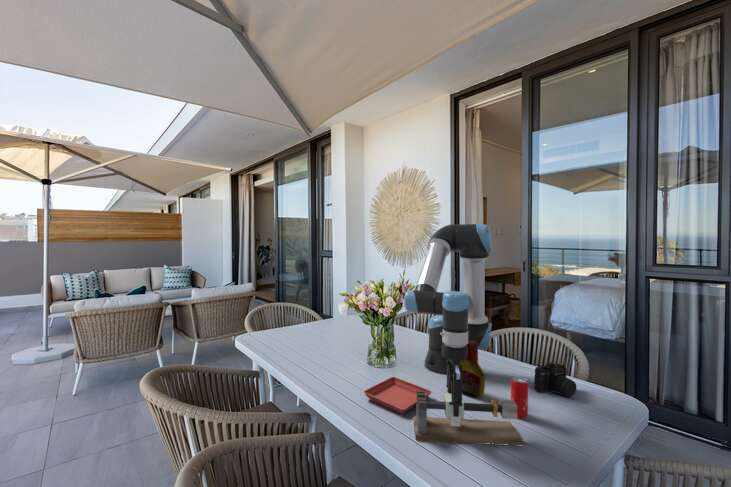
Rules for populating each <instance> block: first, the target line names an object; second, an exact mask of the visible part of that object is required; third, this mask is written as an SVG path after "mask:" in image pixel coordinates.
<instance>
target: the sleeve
mask: <svg viewBox="0 0 731 487" xmlns="http://www.w3.org/2000/svg"><path fill="white" fill-rule="evenodd" d="M443 394H444V395H443V402H446V410H443V411H444V414H445V418H450V412H451V405H449V402H452V398H451V394H449V393H443ZM464 403H465V402H464V400H463V398H462V406H460V419H465V413H464V412H465V411H464Z"/></svg>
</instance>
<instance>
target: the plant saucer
mask: <svg viewBox="0 0 731 487" xmlns="http://www.w3.org/2000/svg"><path fill="white" fill-rule="evenodd" d="M417 390H424V391H425V398H426V399H427V398H428V397H429V396H430V395H431V394H432V391H431V390H430V389H427V388H424V387H422V386H419V385H416V384H414V383H411V382H409V381H406V380H403V379H400V378H399V377H395V376H391V377H389V378H388V379H386V380H384V381H382V382H379V383H377V384H375V385H374V386H373V385H372V386H371V387H369V388H367V389H365V390H364V391H363V393H364V395H365V396H366V397H367V398H368V399H369V400H370V401H372V402H375V403H377V404H379V405H381V406H383V407H385V408H387V409H390V410H392V411H394V412H396V413H397V414H405V413H406V412H407V411H409V410H411V409H412V408H414V407H416V406H417Z"/></svg>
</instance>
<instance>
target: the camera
mask: <svg viewBox="0 0 731 487" xmlns="http://www.w3.org/2000/svg"><path fill="white" fill-rule="evenodd" d="M534 368H535V369H534V384H533V385H534V389H535V390H536V391H535V390H534V391H535V392H537V393H539V394H540V393H545V392H552V393H556V392H557V393H559V394H561V395H563V396H565V397H569V398H570V397H572V396H574V395H575V393H576V391H577V384H576V382H575V381H574V380H572V379H570V378H568V377H567V367H566V366H565V364H564V363H562V362H558V363H554V362H552V361H550V362H546V363H545V365H543V364H541V365H540V366H537V367H534Z"/></svg>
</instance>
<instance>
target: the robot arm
mask: <svg viewBox="0 0 731 487" xmlns="http://www.w3.org/2000/svg"><path fill="white" fill-rule="evenodd" d="M492 238H493V237H492V232H491V227H489V225H488V224H482V223H481V224H480V223H467V224H466V223H461V224H457V223H454V224H446V225H445V226H443V227H441V228H439V229H438V230H436V231H435V232H434V233H433V234H432V235H431V237H430V238H429V240H428V243H427V245H426V249H427V252H426V255H425V258H424V262H423V264H422V267H421V271H420V272H419V276H418V278H417V281H416V285H415V287H414V289H408V290H406V292H405V294H404V297H403V298H404V300H403V302H404V303H403V304H404V308H405V310H406V311H407V312H409V313H410V312H411V313H415V314H429V315H433V316H432V317H430V318H429V323H428V350H427V352H426V356H425V359H424V368H425V369H426V370H429V371H430V372H433V373H438V374H446V389H447V394H451V398H452V402H449V405H451V412H450V425H451V426H460V406H462V399H463V393H462V380H463V373H462V365H461V363H460V361H461V360H465V359H466V358H467V357H468V346H467V344H468V341H475V342H476V343H478V350H482V351H485V350H488V348H489V344H490V340H491V339H490V338H491V332H492V328H493V327H492V326H493V324H492V323H491V322H489V318H488V316H487V315H486V313H485V312H486V311H485V298H486V297H485V294H486V293H485V289H486V288H485V287H486V286H485V284H486V282H485V281H486V280H485V274H486V271H485V267H486V264H485V263H486V262H485V261H486V260H488V259H489V257H490V256H489V255H490V254H492V253H493V239H492ZM451 252H454V253H458V254H459V258H460V259H461V260H462V262H463V263H462V264H463V265H462V266H463V267H462V271H463V273H462V276H463V278H462V279H463V280H462V282H463V284H462V285H463V287H462V288H463V290H462V291H458V290H457V291H456V290H454V291H453V290H452V291H450V290H449V291H444V292H443V291H441V292H440V291H438V288H439V284H440V279H441V276H442V273H443V269H444V266H445V262H446V259H447V257H448V256H449V254H450V253H451Z"/></svg>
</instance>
